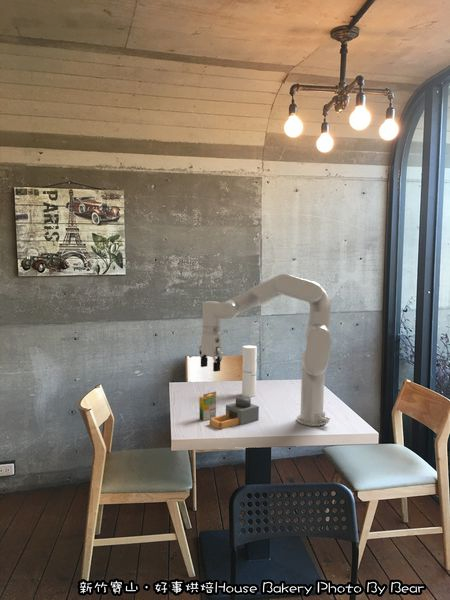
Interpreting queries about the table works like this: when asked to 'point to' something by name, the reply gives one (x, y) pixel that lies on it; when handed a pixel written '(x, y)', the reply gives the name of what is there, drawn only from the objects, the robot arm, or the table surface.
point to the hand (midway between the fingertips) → (210, 368)
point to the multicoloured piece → (237, 414)
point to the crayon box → (207, 406)
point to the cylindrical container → (249, 371)
